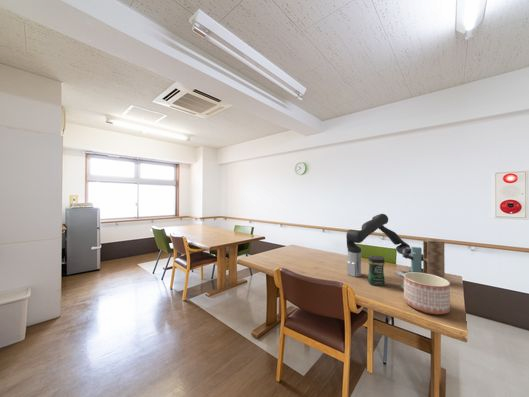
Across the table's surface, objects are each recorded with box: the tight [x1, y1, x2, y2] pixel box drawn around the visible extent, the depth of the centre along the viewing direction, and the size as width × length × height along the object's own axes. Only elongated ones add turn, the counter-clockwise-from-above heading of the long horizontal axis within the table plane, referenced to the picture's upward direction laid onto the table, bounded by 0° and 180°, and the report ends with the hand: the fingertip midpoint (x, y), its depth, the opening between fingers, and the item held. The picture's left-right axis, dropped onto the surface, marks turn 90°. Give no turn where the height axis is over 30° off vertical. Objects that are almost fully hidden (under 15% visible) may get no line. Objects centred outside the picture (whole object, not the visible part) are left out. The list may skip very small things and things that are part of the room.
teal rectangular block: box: [410, 246, 423, 273], centre depth 152 cm, size 6×4×18 cm, turn 72°
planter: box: [403, 271, 451, 316], centre depth 111 cm, size 19×19×15 cm
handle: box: [394, 270, 404, 290], centre depth 127 cm, size 18×8×20 cm
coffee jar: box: [367, 255, 386, 287], centre depth 140 cm, size 10×8×19 cm
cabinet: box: [400, 238, 446, 279], centre depth 148 cm, size 21×18×28 cm
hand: (417, 259), depth 150 cm, fingers closed on teal rectangular block, 5 cm apart
